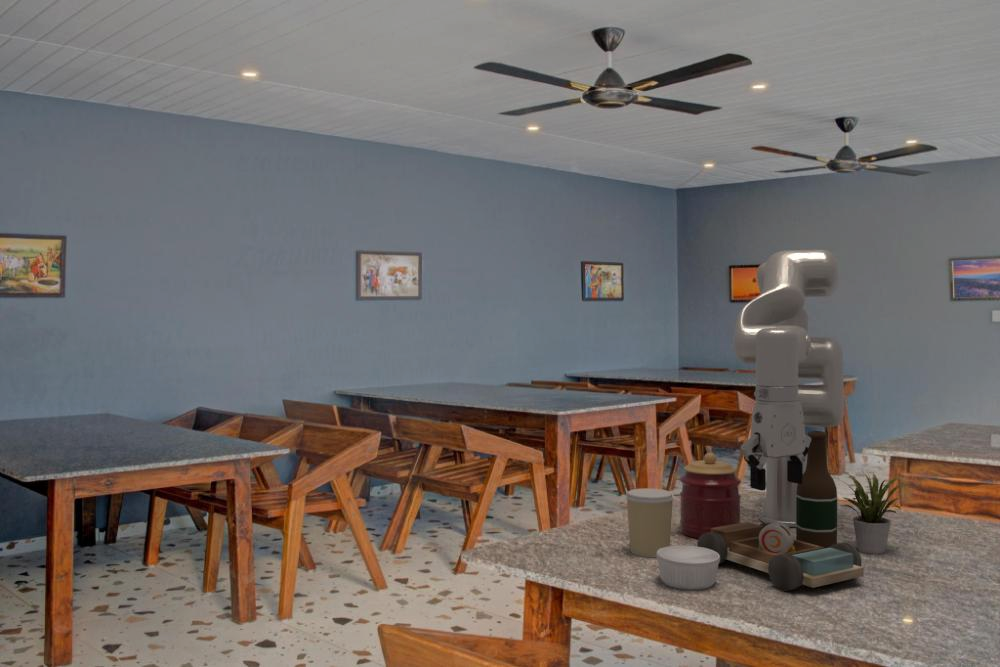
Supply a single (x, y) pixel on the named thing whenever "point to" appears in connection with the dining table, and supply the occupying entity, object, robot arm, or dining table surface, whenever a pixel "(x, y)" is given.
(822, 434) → the beer bottle
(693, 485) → the canister
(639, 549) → the coffee cup
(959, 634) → the dining table surface
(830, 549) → the chassis
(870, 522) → the house plant
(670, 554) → the ramekin
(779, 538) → the roller toy
